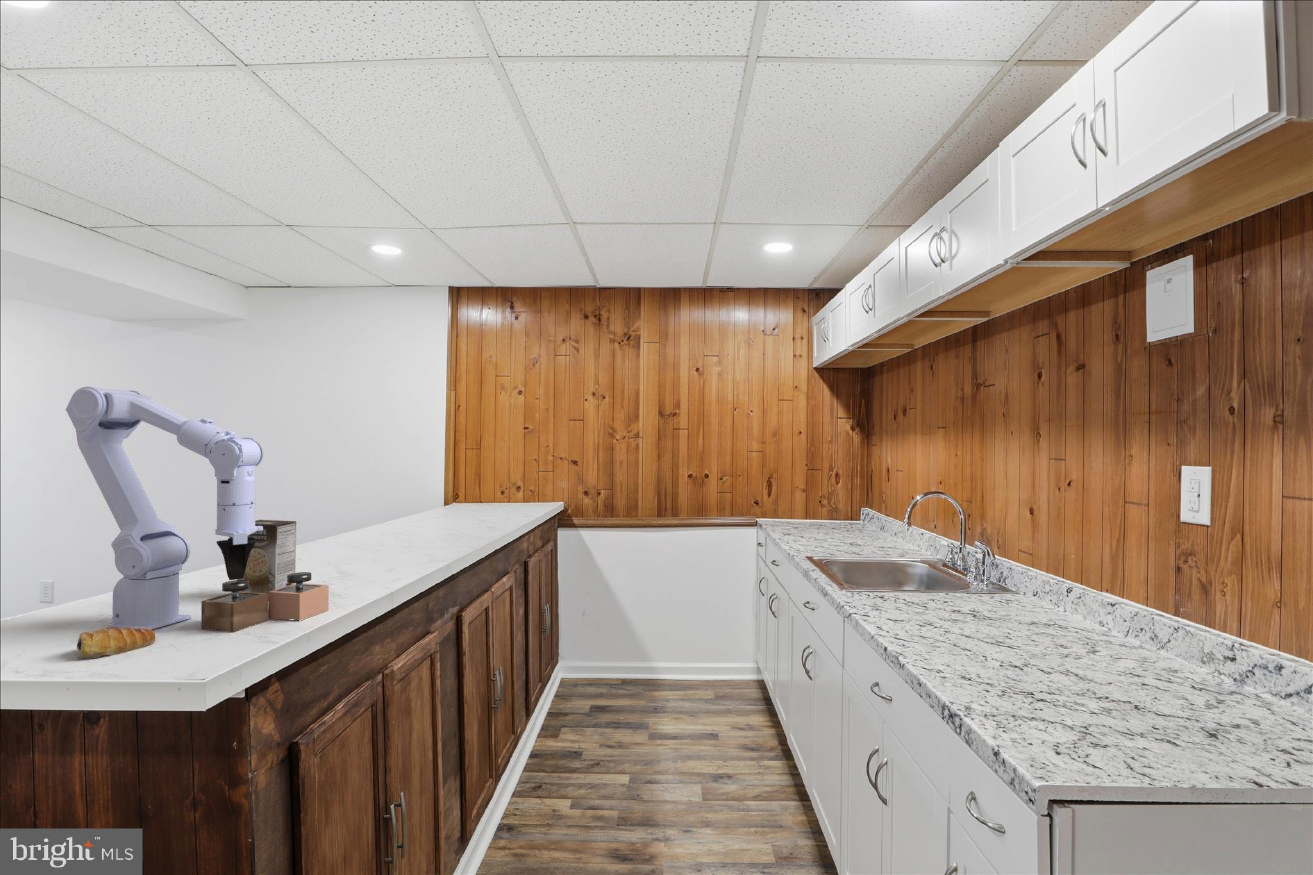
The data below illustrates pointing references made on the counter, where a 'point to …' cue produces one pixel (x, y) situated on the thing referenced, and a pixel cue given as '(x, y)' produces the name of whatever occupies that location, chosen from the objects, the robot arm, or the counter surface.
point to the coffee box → (271, 556)
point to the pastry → (113, 641)
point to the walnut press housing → (234, 612)
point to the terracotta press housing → (298, 602)
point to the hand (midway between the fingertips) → (235, 578)
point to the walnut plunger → (235, 591)
